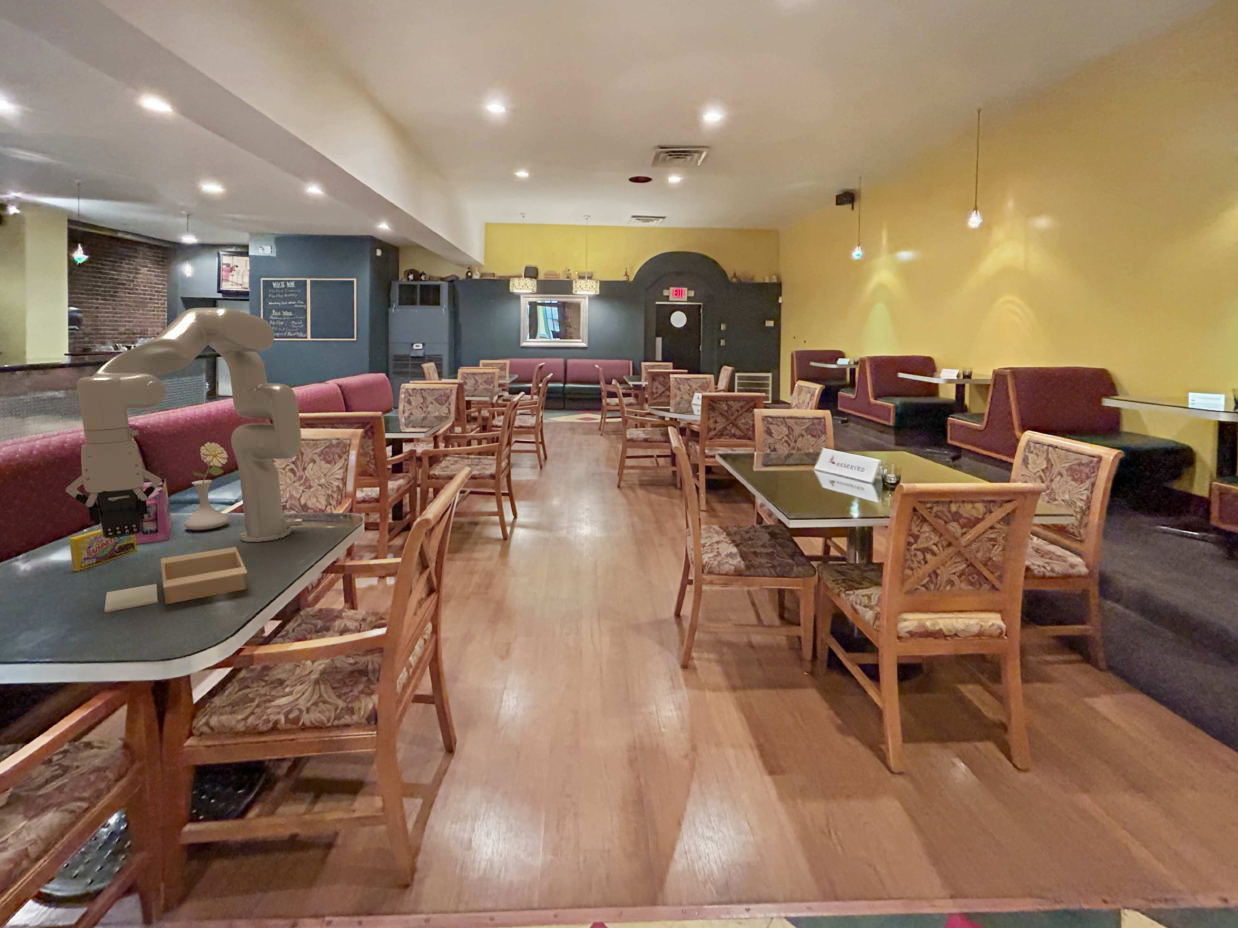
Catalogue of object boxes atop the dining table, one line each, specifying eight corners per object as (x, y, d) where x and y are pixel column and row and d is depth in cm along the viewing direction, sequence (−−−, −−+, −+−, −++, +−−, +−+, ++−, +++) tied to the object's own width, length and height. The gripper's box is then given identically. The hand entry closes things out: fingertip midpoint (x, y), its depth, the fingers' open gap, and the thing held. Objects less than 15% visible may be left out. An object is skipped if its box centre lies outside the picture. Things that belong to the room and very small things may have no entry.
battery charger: (103, 541, 141) (95, 486, 139) (101, 537, 144) (93, 483, 142) (144, 534, 146) (137, 481, 144) (141, 530, 148) (134, 478, 146)
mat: (156, 585, 155) (156, 583, 155) (157, 602, 145) (157, 600, 145) (107, 594, 150) (106, 592, 150) (104, 612, 140) (104, 610, 140)
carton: (238, 566, 167) (235, 546, 166) (249, 594, 149) (247, 572, 148) (163, 579, 159) (160, 558, 158) (166, 610, 141) (163, 587, 140)
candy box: (79, 572, 165) (74, 538, 163) (72, 571, 165) (66, 538, 164) (138, 551, 180) (134, 520, 179) (131, 550, 181) (127, 520, 179)
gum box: (168, 541, 188) (162, 493, 186) (133, 546, 184) (126, 497, 182) (172, 521, 209) (166, 478, 206) (140, 525, 205) (134, 481, 202)
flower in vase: (191, 535, 194) (180, 448, 189) (179, 528, 201) (168, 443, 197) (241, 526, 203) (232, 442, 198) (227, 519, 211) (218, 438, 206)
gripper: (158, 431, 149) (169, 511, 152) (55, 438, 139) (69, 523, 142) (159, 435, 143) (170, 518, 146) (51, 443, 133) (66, 531, 136)
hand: (120, 520), depth 144 cm, fingers closed on battery charger, 7 cm apart
